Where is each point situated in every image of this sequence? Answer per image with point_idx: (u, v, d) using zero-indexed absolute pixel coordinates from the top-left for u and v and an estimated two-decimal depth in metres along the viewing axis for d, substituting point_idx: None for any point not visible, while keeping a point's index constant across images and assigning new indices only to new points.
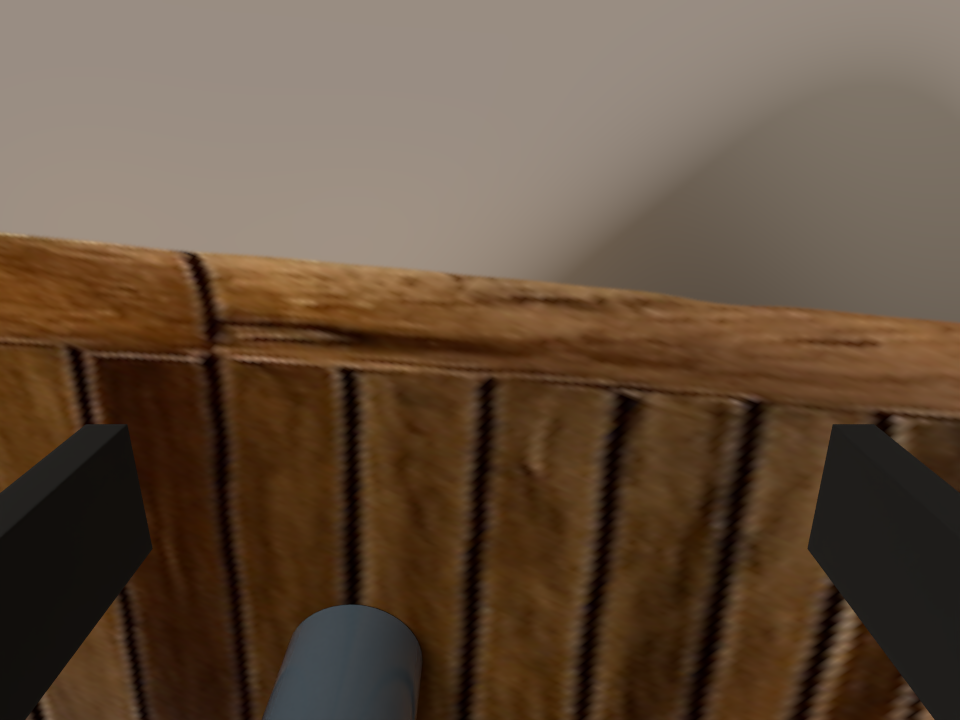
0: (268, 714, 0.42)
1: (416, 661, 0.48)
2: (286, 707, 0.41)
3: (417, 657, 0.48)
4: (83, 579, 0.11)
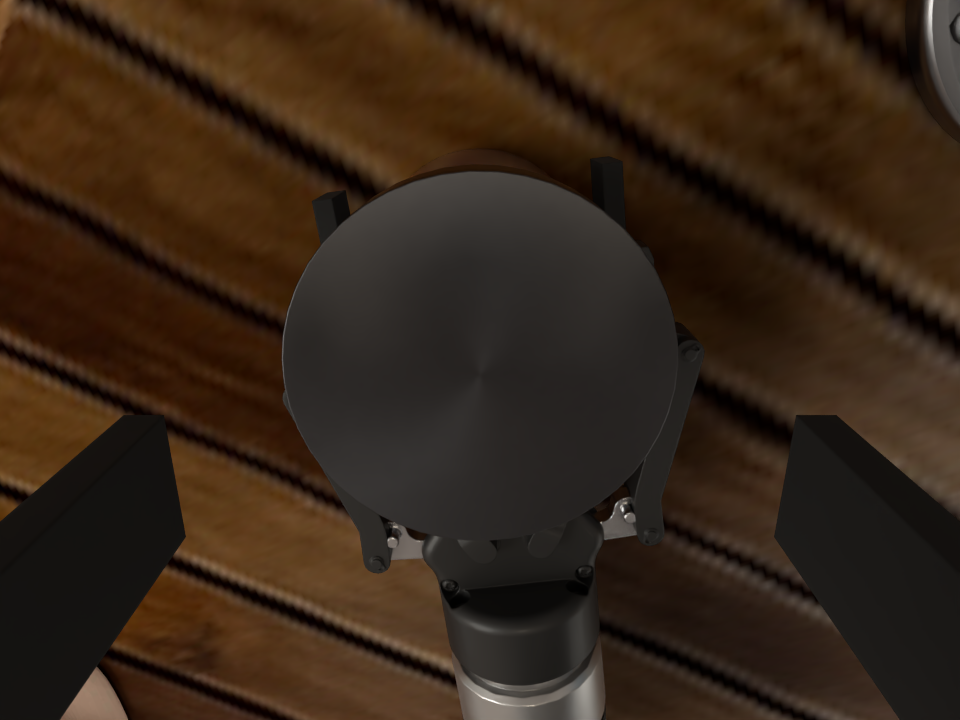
0: None
1: (500, 152, 0.30)
2: None
3: (502, 153, 0.30)
4: (125, 564, 0.11)
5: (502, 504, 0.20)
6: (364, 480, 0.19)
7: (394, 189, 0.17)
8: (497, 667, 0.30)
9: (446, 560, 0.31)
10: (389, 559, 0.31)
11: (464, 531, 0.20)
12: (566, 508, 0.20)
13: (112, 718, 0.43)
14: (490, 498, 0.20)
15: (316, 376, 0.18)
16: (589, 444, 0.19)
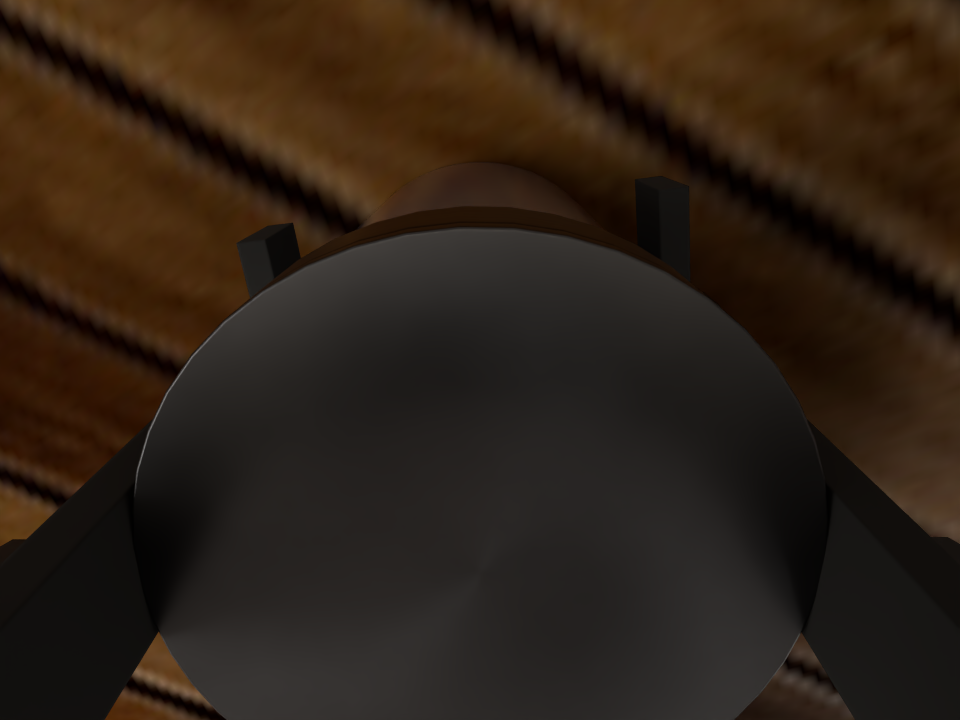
0: None
1: (507, 168, 0.22)
2: None
3: (510, 168, 0.23)
4: None
5: None
6: None
7: (319, 260, 0.09)
8: None
9: None
10: None
11: None
12: None
13: None
14: None
15: (195, 574, 0.10)
16: (664, 677, 0.11)
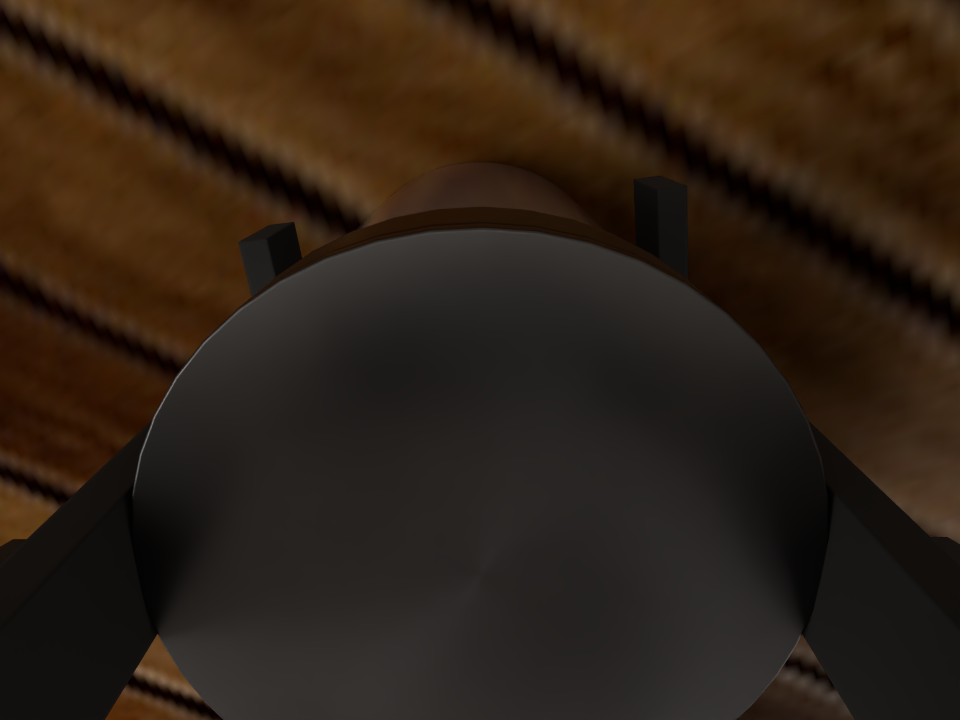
0: None
1: (506, 168, 0.22)
2: None
3: (510, 168, 0.23)
4: None
5: (725, 634, 0.11)
6: None
7: (136, 559, 0.10)
8: None
9: None
10: None
11: (735, 700, 0.11)
12: (799, 549, 0.10)
13: None
14: (702, 645, 0.11)
15: None
16: (703, 468, 0.10)
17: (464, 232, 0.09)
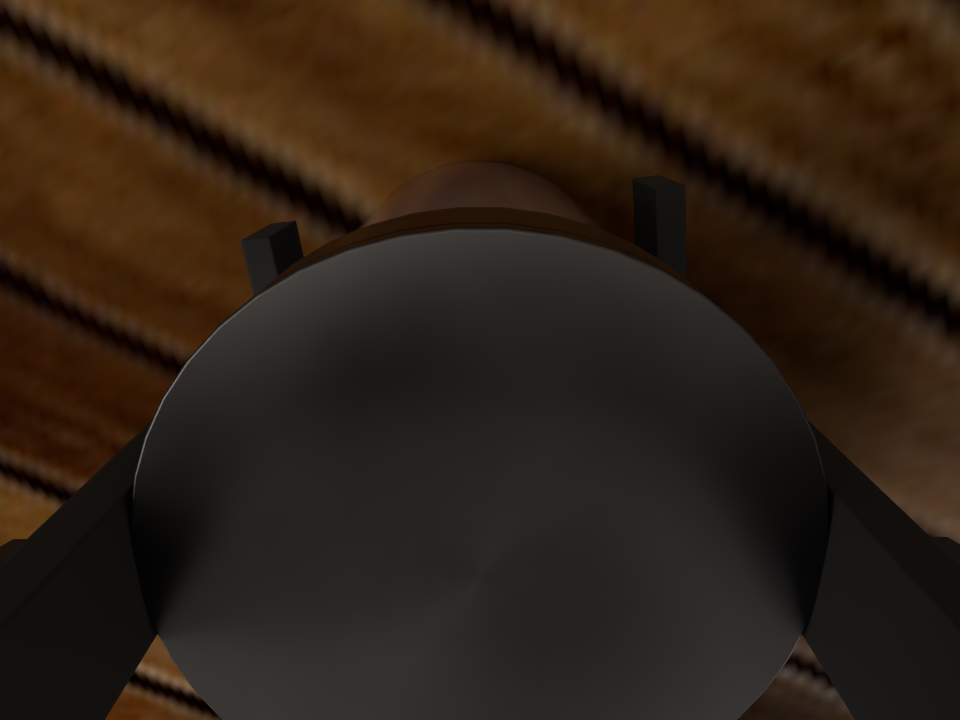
0: None
1: (506, 167, 0.22)
2: None
3: (510, 168, 0.23)
4: None
5: (680, 393, 0.09)
6: (772, 603, 0.11)
7: None
8: None
9: None
10: None
11: (778, 413, 0.09)
12: (611, 284, 0.09)
13: None
14: (680, 420, 0.10)
15: None
16: (460, 345, 0.09)
17: (144, 452, 0.10)
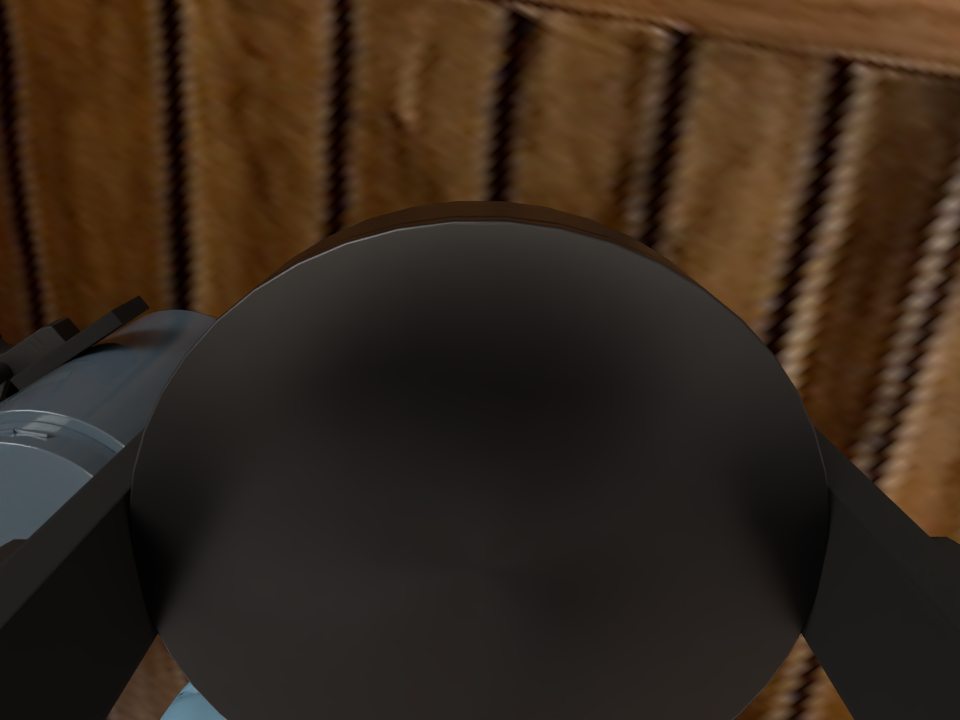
0: None
1: None
2: (53, 370, 0.31)
3: None
4: None
5: (680, 387, 0.09)
6: (772, 599, 0.11)
7: None
8: None
9: None
10: None
11: (778, 407, 0.09)
12: (611, 278, 0.09)
13: None
14: (680, 414, 0.09)
15: None
16: (459, 340, 0.09)
17: (142, 447, 0.10)
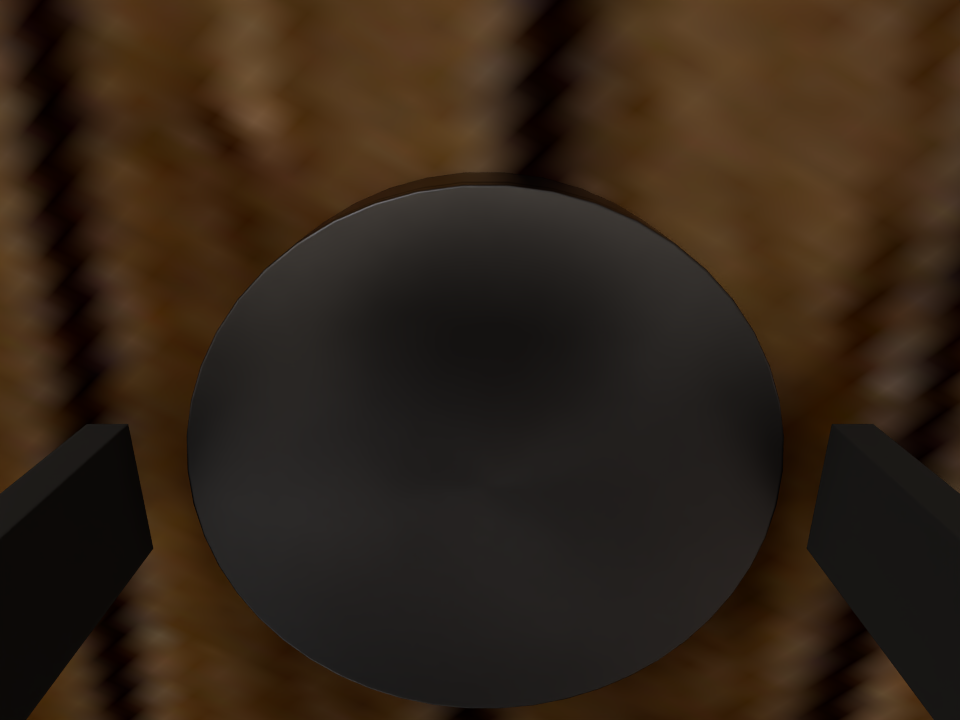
0: None
1: None
2: None
3: None
4: (84, 579, 0.11)
5: (654, 328, 0.11)
6: (736, 515, 0.12)
7: (361, 682, 0.14)
8: None
9: None
10: None
11: (738, 345, 0.11)
12: (595, 233, 0.11)
13: None
14: (655, 351, 0.11)
15: (624, 638, 0.13)
16: (468, 287, 0.11)
17: (200, 379, 0.11)
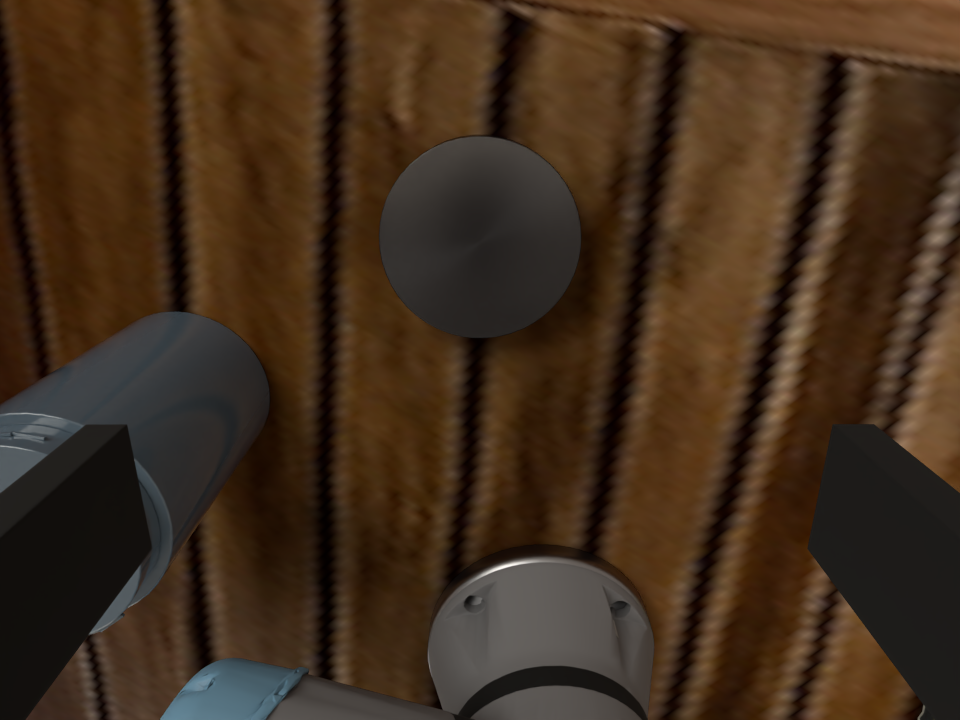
0: None
1: (255, 382, 0.39)
2: (51, 373, 0.31)
3: (258, 381, 0.39)
4: (83, 579, 0.11)
5: (534, 183, 0.34)
6: (567, 253, 0.36)
7: (434, 326, 0.37)
8: None
9: None
10: None
11: (561, 189, 0.35)
12: (514, 151, 0.34)
13: None
14: (535, 191, 0.35)
15: (531, 305, 0.37)
16: (475, 169, 0.34)
17: (386, 201, 0.35)
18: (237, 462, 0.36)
